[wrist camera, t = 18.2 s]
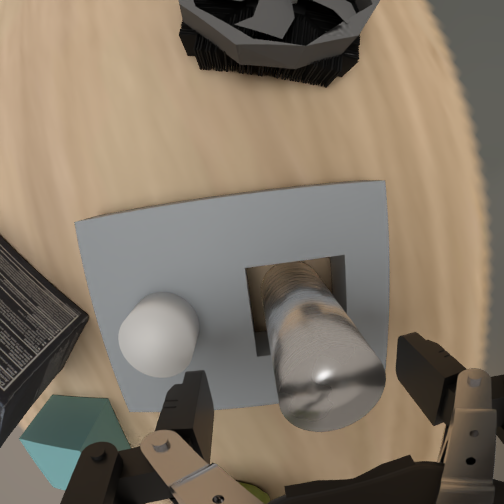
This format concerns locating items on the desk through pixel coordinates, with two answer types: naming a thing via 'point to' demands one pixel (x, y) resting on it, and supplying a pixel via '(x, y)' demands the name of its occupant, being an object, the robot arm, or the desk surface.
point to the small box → (30, 336)
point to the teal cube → (70, 434)
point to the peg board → (226, 282)
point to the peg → (317, 352)
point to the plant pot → (256, 492)
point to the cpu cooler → (276, 35)
